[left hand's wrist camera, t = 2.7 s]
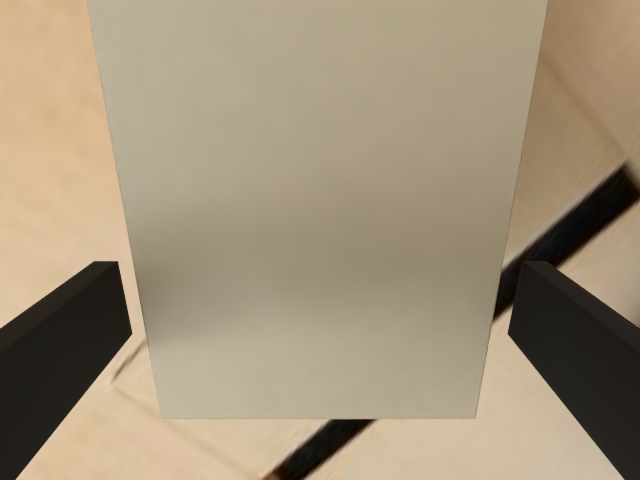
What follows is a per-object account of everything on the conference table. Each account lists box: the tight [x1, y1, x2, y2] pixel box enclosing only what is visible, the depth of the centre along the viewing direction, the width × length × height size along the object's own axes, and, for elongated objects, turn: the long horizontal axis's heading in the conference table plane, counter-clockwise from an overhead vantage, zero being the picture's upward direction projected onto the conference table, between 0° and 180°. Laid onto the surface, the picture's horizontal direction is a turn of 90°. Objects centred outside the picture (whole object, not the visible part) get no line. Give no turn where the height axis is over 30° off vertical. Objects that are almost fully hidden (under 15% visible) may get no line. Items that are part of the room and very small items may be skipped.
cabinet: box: [86, 0, 549, 419], centre depth 15 cm, size 18×11×11 cm, turn 0°
